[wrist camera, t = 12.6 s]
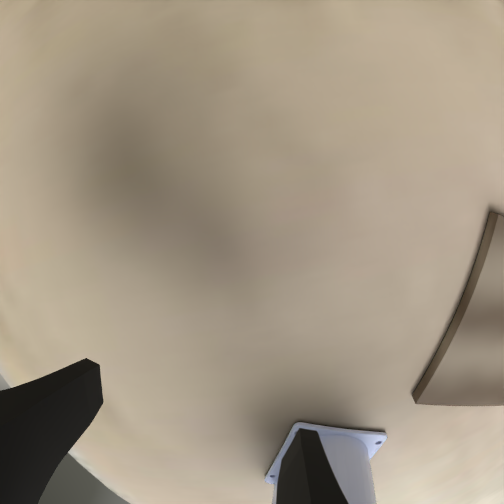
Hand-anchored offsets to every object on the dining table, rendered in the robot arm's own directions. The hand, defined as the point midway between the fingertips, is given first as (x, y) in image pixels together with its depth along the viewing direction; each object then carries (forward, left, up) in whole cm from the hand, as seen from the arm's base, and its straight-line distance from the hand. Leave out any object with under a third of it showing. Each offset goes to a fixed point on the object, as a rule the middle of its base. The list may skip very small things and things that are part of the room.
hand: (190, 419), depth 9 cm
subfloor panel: (+3, -23, -9) cm, 25 cm away
